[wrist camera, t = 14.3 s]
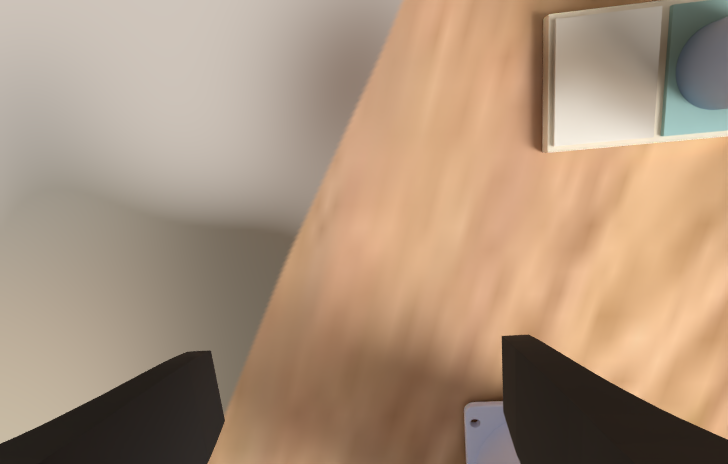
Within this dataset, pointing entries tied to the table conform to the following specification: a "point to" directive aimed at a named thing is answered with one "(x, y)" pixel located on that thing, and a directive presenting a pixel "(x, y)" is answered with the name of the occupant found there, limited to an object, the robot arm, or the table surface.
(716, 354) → the table surface
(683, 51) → the pawn
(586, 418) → the robot arm
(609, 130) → the board
